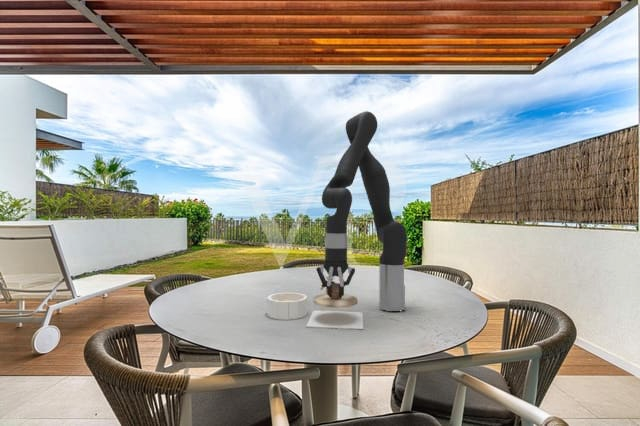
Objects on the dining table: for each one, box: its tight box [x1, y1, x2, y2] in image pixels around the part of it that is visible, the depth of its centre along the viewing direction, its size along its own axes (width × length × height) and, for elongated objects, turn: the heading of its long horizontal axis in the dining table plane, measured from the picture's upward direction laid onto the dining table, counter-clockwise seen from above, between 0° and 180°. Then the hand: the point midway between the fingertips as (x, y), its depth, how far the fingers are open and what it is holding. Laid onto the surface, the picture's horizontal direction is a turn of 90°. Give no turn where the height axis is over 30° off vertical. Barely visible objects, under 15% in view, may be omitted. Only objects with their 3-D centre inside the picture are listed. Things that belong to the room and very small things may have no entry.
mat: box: [305, 310, 364, 330], centre depth 116 cm, size 18×18×1 cm
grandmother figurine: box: [319, 272, 336, 294], centre depth 138 cm, size 8×4×13 cm, turn 84°
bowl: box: [266, 292, 308, 321], centre depth 123 cm, size 14×14×6 cm
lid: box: [313, 282, 359, 309], centre depth 117 cm, size 15×15×6 cm
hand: (335, 296), depth 117 cm, fingers closed on lid, 3 cm apart
